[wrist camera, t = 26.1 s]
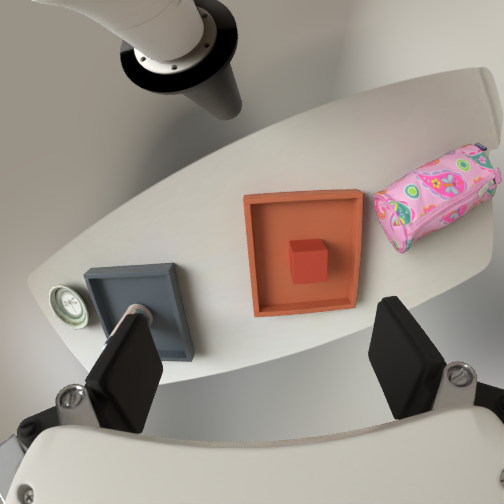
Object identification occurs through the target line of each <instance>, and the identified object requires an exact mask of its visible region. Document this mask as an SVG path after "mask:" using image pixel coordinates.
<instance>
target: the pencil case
mask: <svg viewBox="0 0 504 504" xmlns="http://www.w3.org/2000/svg"><path fill="white" fill-rule="evenodd" d="M486 150H487V148H486V147H484V146H483V145H481V144H480V143H476V144H475V145H471V144H469V145H466V146H463V147H460V148H458V149H455V150H453V151H451V152H449V153H447V154H445V155H444V156H442V157H440V158H438V159H436V160H433V161H432V162H430V163H427V164H426V165H424V166H421V167H419V168H417V169H415V170H414V171H412V172H410V173H408V174H407V175H405V176H404V177H402V178H401V179H399V180H398V181H396V182H394V183H393V184H391V185H390V186H388V187H387V188H386V189H384V190H383V191H380V192H378V193H376V194H374V196H373V207H374V209H375V211H376V214H377V216H378V218H379V221H380V223H381V225H382V228H383V230H384V232H385V234H386V236H387V237H388V239H389V241H390V242H391V244H392V245H393V246H394V248H395V249H396V251H397V252H399V253H405V252H406V251H407V250H408V249H409V248H410V246H411V245H413V244H414V243H415V241H417V240H419V239H420V238H422V237H423V236H424V235H426V234H428V233H430V232H433V231H436V230H438V229H441V228H443V227H445V226H447V225H449V224H451V223H452V222H454V221H455V220H457V219H459V218H460V217H461V216H463V215H464V214H465V213H467V212H468V211H470V210H471V209H473V208H474V207H475V206H476V205H477V204H478V203H482V202H484V201H486V200H487V199H489V198H491V197H493V196H494V194H495V191H496V186H497V184H499V183H500V182H501V181H502V179H501V173H500V169H499V168H497V169H496V170H493V167H492V165H491V163H490V161H489V159H488V157H487V156H486V154H485V153H484V152H483V151H486Z"/></svg>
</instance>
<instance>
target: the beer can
mask: <svg viewBox="0 0 504 504" xmlns="http://www.w3.org/2000/svg"><path fill="white" fill-rule="evenodd" d="M127 314H141V315H142V317H144V318H146V320H147V323H148V326H149V328H150V326H151V324H152V322H153V317H152V314H151V312H150V311H149V310H148V309H147V308H146V307H144V306H143V305H140V304H133V305H131V306H129V307H128V309H127V311H126V312H125V314H124V315H123V317H122V318H121V320H120V321H119V323H118V324H117V326H116V327H115V329H114V330H113V332H112V333H111V335H110V336H109V338H108V339H107V341H106V342H105V344H104V345H103V346H102V349H101V353H102V352H103V350H104V348H105V347H106V345H107V344H108V342H109V341H110V339H111V337H112V336H113V334H114V333H115V331H116V330H117V328H118V327H119V325H120V324H121V322H122V321H123V319H124V318H125V316H126V315H127Z"/></svg>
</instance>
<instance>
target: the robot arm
mask: <svg viewBox="0 0 504 504" xmlns="http://www.w3.org/2000/svg"><path fill="white" fill-rule="evenodd" d="M31 1H34V2H37V3H42V4H46V5H52V6H57V7H63V8H67V9H71V10H74V11H77V12H79V13H81V14H83V15H86V16H87V17H89V18H91V19H93V20H95V21H96V22H98V23H99V24H101V25H102V26H104V27H105V28H107V29H108V30H110V31H111V32H113V33H114V34H116V35H117V36H119V37H120V38H122V39H123V40H125V41H126V42H127V43H129V44H130V45H132V46H133V47H134V52H135V56H136V58H137V60H138V61H139V63H140V64H141V65H142V66H143V67H144V68H146V69H147V70H149V71H151V72H154V73H157V74H162V75H171V74H177V73H181V72H184V71H187V70H189V69H191V68H193V67H195V66H196V65H197V64H199V63H200V62H202V61H203V60H204V59H205V58H206V57H207V56H208V54H209V53H210V52H211V51H212V49H213V47H214V45H215V42H216V38H217V28H216V24H215V21H214V19H213V18H212V16H211V15H210V14H209V13H208V12H207V11H206V10H204V9H202V8H200V7H197V6H195V4H194V2H193V0H31ZM205 17H207V18H205ZM207 46H209V47H208V48H206V47H207ZM145 59H146V60H145ZM144 60H145V61H144ZM175 68H177V69H176V70H175ZM368 356H369V360H370V362H371V365H372V367H373V369H374V372H375V374H376V376H377V378H378V381H379V383H380V385H381V387H382V390H383V392H384V395H385V397H386V399H387V402H388V404H389V407H390V409H391V412H392V414H393V417H394V418H395V419H398V420H397V421H393V422H389V423H386V424H381V425H377V426H373V427H368V428H364V429H359V430H355V431H349V432H344V433H338V434H332V435H326V436H318V437H310V438H302V439H292V440H279V441H263V442H212V441H193V440H181V439H171V438H162V437H154V436H148V435H141V434H139V433H142V431H143V428H144V425H145V422H146V419H147V416H148V413H149V410H150V407H151V404H152V401H153V398H154V396H155V393H156V390H157V387H158V384H159V381H160V378H161V376H162V373H163V365H162V362H161V359H160V357H159V354H158V351H157V349H156V346H155V343H154V340H153V337H152V335H151V332H150V329H149V326H148V323H147V320H146V318H144V317H142V315H141V314H127V315H126V316H125V318H124V319H123V321H122V322H121V324H120V325H119V327H118V328H117V330H116V331H115V333H114V334H113V336H112V337H111V339H110V341H109V342H108V344H107V345H106V347H105V348H104V350H103V352H102V353H101V355H100V356H99V358H98V360H97V361H96V363H95V365H94V366H93V368H92V370H91V371H90V373H89V375H88V376H87V378H86V380H85V381H86V384H85V386H84V387H83V386H82V385H79V384H72V385H68V386H66V387H64V388H63V389H62V390H60V392H59V393H58V394H57V397H56V406H55V407H52V408H50V409H47V410H45V411H43V412H40V413H38V414H35V415H33V416H31V417H28V418H26V419H24V420H23V421H22V422H21V423H20V425H19V427H18V430H17V436H15V435H14V434H13V435H12V436H11V437H9V438H8V439H7V440H5V441H4V442H3V443H2V444H0V498H1V500H2V502H3V504H504V389H500V388H497V387H493V386H490V385H487V384H483V383H480V382H477V375H476V372H475V370H474V369H473V368H472V367H471V366H470V365H468V364H466V363H464V362H452V363H449V364H448V365H447V364H446V362H445V361H444V358H443V357H442V355H441V354H440V352H439V351H438V350H437V348H436V347H435V345H434V344H433V343H432V341H431V340H430V339H429V337H428V336H427V335H426V333H425V332H424V330H423V329H422V328H421V326H420V325H419V324H418V323H417V321H416V320H415V319H414V317H413V316H412V315H411V313H410V312H409V311H408V310H407V308H406V307H405V306H404V305H403V303H402V302H401V301H400V300H399V298H398V297H397V296H391V297H384V298H382V300H381V302H379V303H378V305H377V311H376V317H375V322H374V328H373V333H372V338H371V343H370V347H369V352H368Z"/></svg>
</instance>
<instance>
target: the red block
mask: <svg viewBox="0 0 504 504" xmlns="http://www.w3.org/2000/svg"><path fill="white" fill-rule="evenodd" d="M289 262H290V273H291V277H292V281H293V284H294V285H295V284H307V283H318V282H327V268H328V250H327V248H326V246H325V245H324V243H323V242H322V240H321V239H307V240H292V241H289Z"/></svg>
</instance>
